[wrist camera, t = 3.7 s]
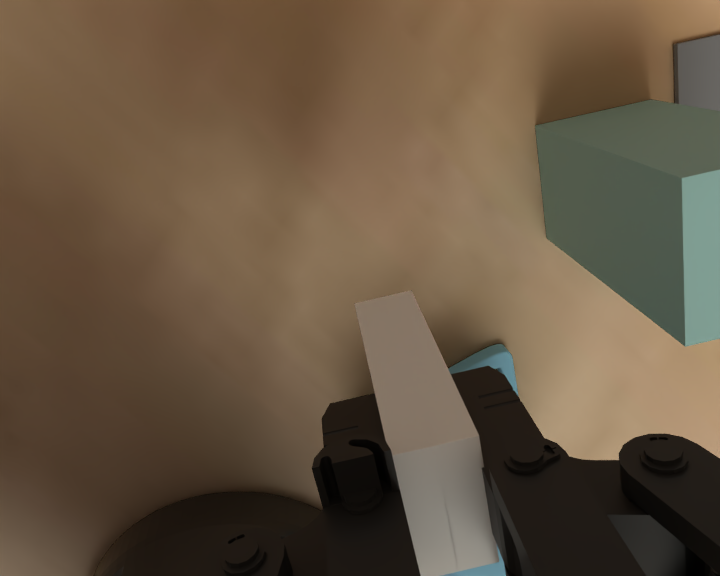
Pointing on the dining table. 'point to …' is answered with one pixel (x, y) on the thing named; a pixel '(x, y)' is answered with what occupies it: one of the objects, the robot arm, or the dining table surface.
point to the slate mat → (698, 72)
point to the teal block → (641, 207)
